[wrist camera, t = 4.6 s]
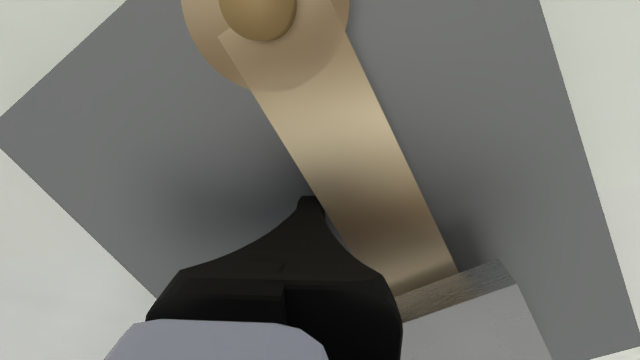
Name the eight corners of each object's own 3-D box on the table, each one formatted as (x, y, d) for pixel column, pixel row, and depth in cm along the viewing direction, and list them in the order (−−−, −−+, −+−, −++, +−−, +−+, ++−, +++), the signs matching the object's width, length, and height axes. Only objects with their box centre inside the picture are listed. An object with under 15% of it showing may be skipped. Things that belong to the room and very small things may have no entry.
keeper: (363, 266, 14) (370, 334, 10) (471, 220, 12) (517, 283, 9) (434, 369, 16) (457, 451, 13) (530, 341, 15) (583, 425, 12)
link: (175, -21, 9) (121, -43, 7) (301, -121, 8) (284, -186, 6) (389, 321, 15) (398, 372, 12) (485, 291, 13) (513, 341, 11)
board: (301, 415, 21) (299, 436, 20) (13, 125, 13) (-17, 132, 12) (622, 324, 15) (643, 345, 14) (434, -251, 8) (448, -297, 7)
